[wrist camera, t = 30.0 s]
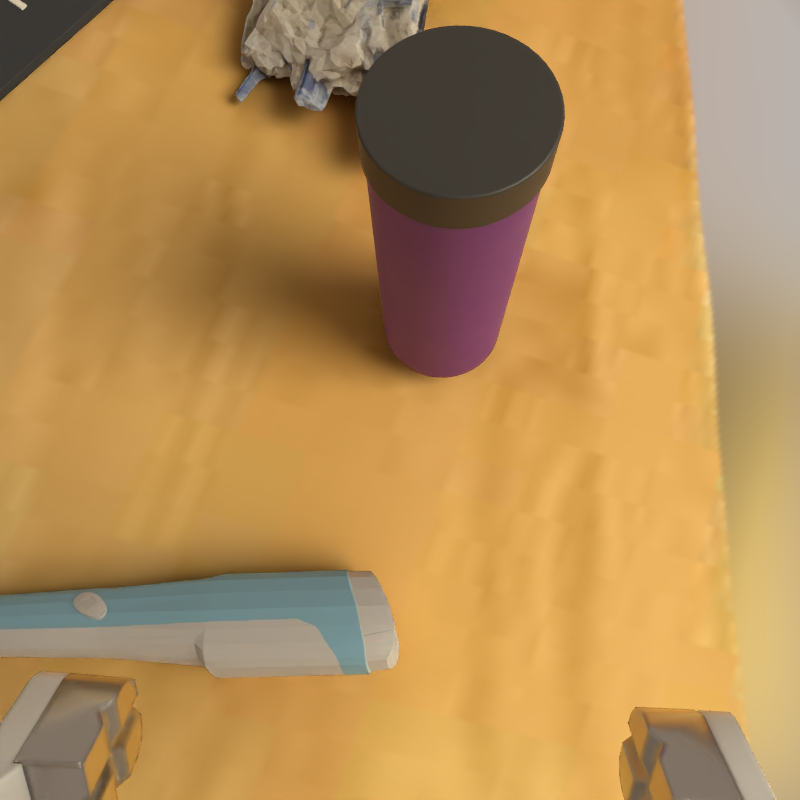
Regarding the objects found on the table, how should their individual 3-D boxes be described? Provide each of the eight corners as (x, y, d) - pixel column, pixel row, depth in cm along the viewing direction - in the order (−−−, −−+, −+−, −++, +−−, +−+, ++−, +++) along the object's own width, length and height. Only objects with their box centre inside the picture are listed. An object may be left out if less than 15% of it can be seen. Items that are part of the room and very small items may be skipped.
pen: (398, 570, 23) (395, 564, 20) (401, 670, 22) (398, 677, 19) (-156, 588, 23) (-231, 585, 21) (-177, 687, 22) (-259, 697, 20)
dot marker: (454, 411, 25) (486, 237, 13) (360, 346, 26) (311, 127, 14) (521, 323, 26) (605, 87, 14) (428, 262, 27) (435, -7, 15)
